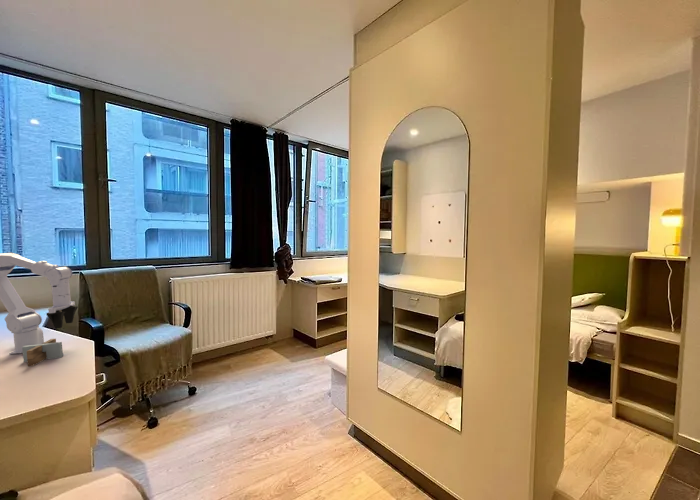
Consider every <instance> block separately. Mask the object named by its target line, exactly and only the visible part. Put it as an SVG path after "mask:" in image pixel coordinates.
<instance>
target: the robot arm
mask: <svg viewBox="0 0 700 500" xmlns="http://www.w3.org/2000/svg"><path fill="white" fill-rule="evenodd" d="M15 267H20V268H24V269H28V270H30V271H31V273H32V274H35V275H38V276H41V277H44V278H46V279H47V280H48V281H49V285H50V286H51V294H52V295H51V296H52V306H51V307H50V308H48V312H46V316H47V317H48V318H49V319H50V321H51V323H52V325H53V327H54V328H55V329H61V328H63V319H64V321H65V323H66V324H72V323H73V322H74V318H75V313H76V311H77V309H78V305H76V301H74V300H73V301H72V299H71V287H70V285H71V284H70V279H71V278H72V276H73V271H72V269H71V268H70V267H68V266H65V265H64V266H59V265H58V264H53V263H52V264H51V263H49V262H48V261H46V260H40V261H39V260H38V261H34V260H31V259H28V258H26V257H24V256H21V255H20V254H19V253H14V252H6V253H5V252H4V253H3V252H1V253H0V302H1V303H2V305H3V306H4V308H5V309H6V311H7V312H8V314H7V315H6V316H5V317H4V321H5V322H6V329H7V330H8V331H9V332H11V334H13V341H14V342H13V343H14V350H13V351H11V352H9V354H8V355H16V354H23V350H22V347H24V346H28V345H37V344H42V343H44V342H45V340H44V332H43V330H42V328H41V327H39V326H40V325H41V324H42V323H43V317H42V315H41V314H40V313H38V312H37V311H36V310H35V309H34V308H31V307H28V306H26V304H25V302H24V301H23V299H22V298H21V296H20V295H19V293H18V292H17V290H16V288H15V287H14V285H13V284H12V282H11V281H10V278H9V277H8V275H9V274H10V273H11V272H12V271H13V270H14V268H15Z"/></svg>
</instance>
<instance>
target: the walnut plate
mask: <svg viewBox="0 0 700 500" xmlns="http://www.w3.org/2000/svg"><path fill="white" fill-rule="evenodd" d="M56 342H57V338H50V339H48V340H46V341H44V343H42V344H46V343H56ZM27 360H28V361H27V366H28V367H34V366H36V365H38V364H39V363H41V362H43V361H44V360H47V354H46V352H42V346H36V347H34V348H32V349H30V350H28V351H27Z"/></svg>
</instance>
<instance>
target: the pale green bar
mask: <svg viewBox="0 0 700 500" xmlns="http://www.w3.org/2000/svg"><path fill="white" fill-rule="evenodd" d="M36 346H42V352H46V354H47V358H46V360H52V359H53V360H54V359H59V358H63V357H64V352H63V351H64V350H63V342H62V341H58V342H57V341H56V343H46V344H37V345H28V346H24V347H22V350H23V353H22V358H23V359H22V360H23V363H26V362H27V363H28V360H27V351H28V350H30V349H32V348H34V347H36Z"/></svg>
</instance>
